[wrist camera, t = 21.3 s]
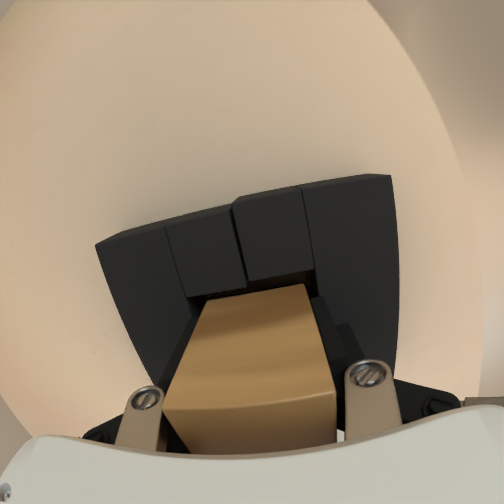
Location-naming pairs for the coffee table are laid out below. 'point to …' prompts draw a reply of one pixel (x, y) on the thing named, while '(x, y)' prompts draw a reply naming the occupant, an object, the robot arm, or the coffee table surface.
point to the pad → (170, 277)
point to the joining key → (254, 378)
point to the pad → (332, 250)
